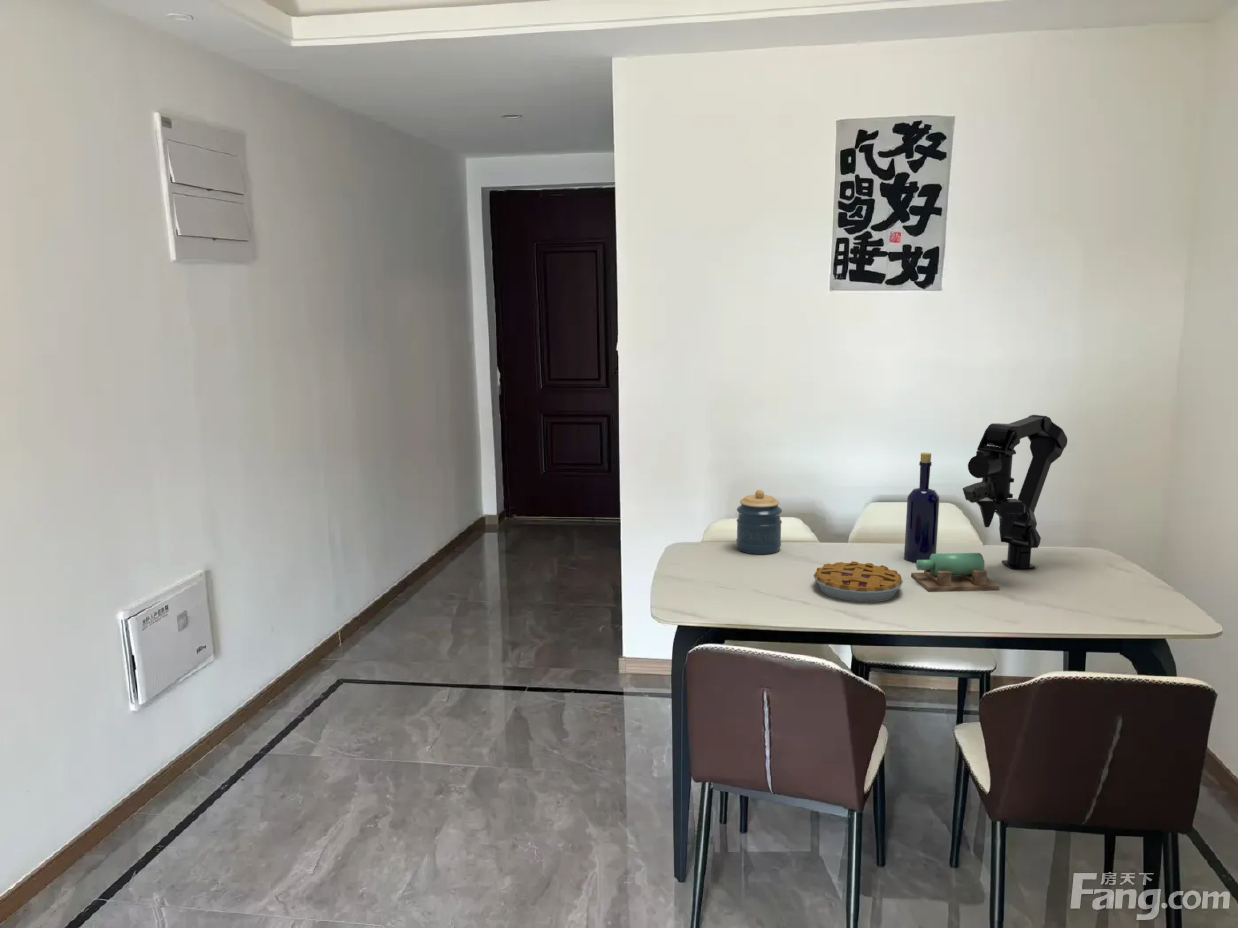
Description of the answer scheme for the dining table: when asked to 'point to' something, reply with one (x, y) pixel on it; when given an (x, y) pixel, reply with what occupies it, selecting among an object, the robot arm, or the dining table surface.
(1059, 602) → the dining table surface
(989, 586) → the bottle rest
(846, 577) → the pie
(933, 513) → the bottle
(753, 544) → the canister
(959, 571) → the small bottle
